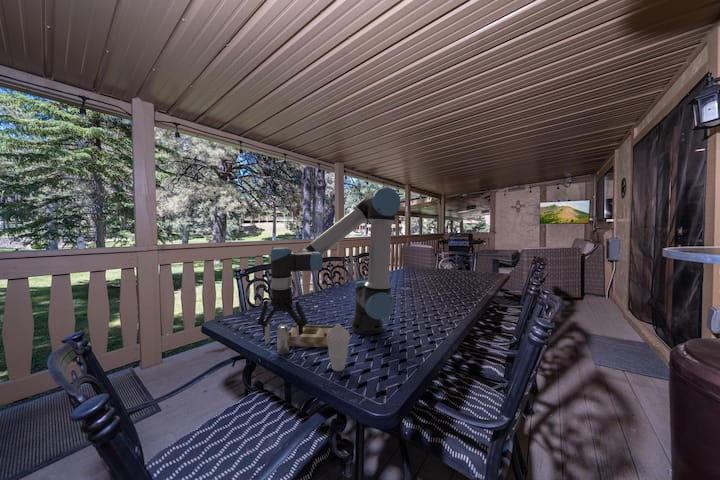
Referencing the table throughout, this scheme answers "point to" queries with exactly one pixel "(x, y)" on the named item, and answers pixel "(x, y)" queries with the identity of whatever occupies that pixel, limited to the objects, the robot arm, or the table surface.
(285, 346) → the grey metal peg
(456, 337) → the table surface
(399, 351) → the table surface
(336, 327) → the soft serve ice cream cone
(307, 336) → the plate
